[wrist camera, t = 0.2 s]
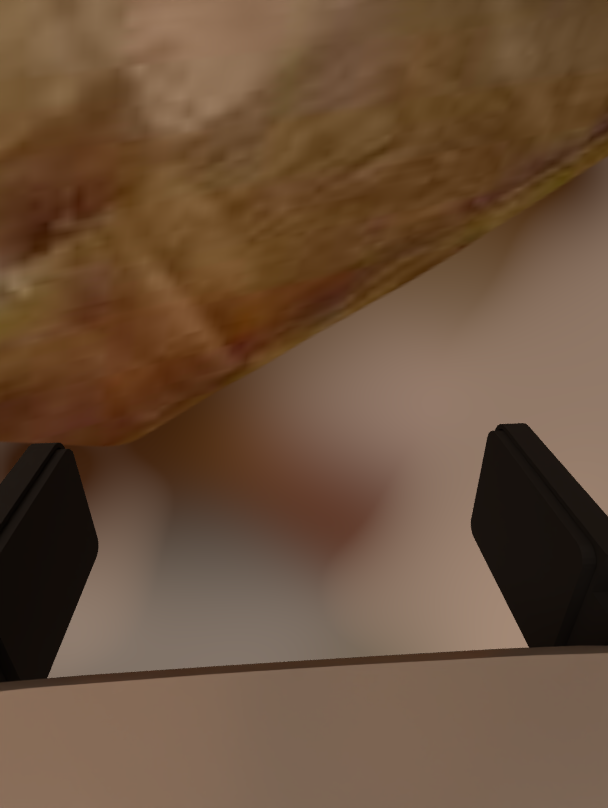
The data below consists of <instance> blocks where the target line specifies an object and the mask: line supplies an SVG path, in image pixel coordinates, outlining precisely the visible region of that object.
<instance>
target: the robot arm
mask: <svg viewBox="0 0 608 808" xmlns="http://www.w3.org/2000/svg"><path fill="white" fill-rule="evenodd" d="M471 530H472V534H473V536H474V538H475V541H476V542H477V545H478V547H479V548H480V551H481V553H482V555H483V557H484V559H485V561H486V562H487V564H488V567H489V569H490V570H491V572H492V574H493V576H494V578H495V580H496V582H497V584H498V586H499V588H500V590H501V592H502V594H503V596H504V598H505V600H506V602H507V604H508V606H509V608H510V610H511V612H512V614H513V616H514V618H515V620H516V622H517V624H518V626H519V628H520V630H521V632H522V634H523V636H524V638H525V640H526V642H527V644H528V646H529V648H510V649H489V650H472V651H455V652H438V653H420V654H404V655H403V654H402V655H385V656H369V657H353V658H336V659H321V660H304V661H288V662H273V663H258V664H242V665H226V666H211V667H197V668H183V669H168V670H153V671H139V672H125V673H110V674H95V675H81V676H70V677H59V678H47V677H48V674H49V672H50V670H51V667H52V664H53V662H54V660H55V657H56V655H57V652H58V650H59V647H60V645H61V643H62V640H63V638H64V635H65V633H66V630H67V628H68V625H69V623H70V620H71V618H72V615H73V613H74V611H75V608H76V606H77V603H78V601H79V598H80V596H81V594H82V591H83V589H84V586H85V584H86V581H87V579H88V576H89V574H90V571H91V569H92V567H93V564H94V562H95V559H96V557H97V552H98V538H97V535H96V531H95V528H94V524H93V521H92V517H91V514H90V510H89V507H88V503H87V500H86V496H85V493H84V489H83V486H82V482H81V479H80V475H79V472H78V468H77V465H76V461H75V458H74V454H73V452H72V451H71V450H70V449H65V448H64V446H63V445H62V444H61V443H40V444H31V445H30V446H29V447H28V448H27V450H26V451H25V452H24V454H23V455H22V457H21V458H20V459H19V460H18V462H17V463H16V464H15V466H14V467H13V468H12V469H11V471H10V472H9V473H8V475H7V476H6V477H5V479H4V480H3V481H2V483H1V484H0V808H608V516H607V515H606V514H605V513H604V512H603V511H602V510H601V508H600V507H599V506H598V505H597V504H596V503H595V501H594V500H593V499H592V498H591V497H590V496H589V495H588V493H587V492H586V491H585V490H584V489H583V488H582V487H581V485H580V484H579V483H578V482H577V481H576V480H575V479H574V477H573V476H572V475H571V474H570V473H569V472H568V471H567V469H566V468H565V467H564V466H563V465H562V464H561V463H560V461H558V459H557V458H556V457H555V456H554V455H553V453H552V452H551V451H550V450H549V449H548V448H547V447H546V445H544V443H543V442H542V441H541V440H540V439H539V437H538V436H537V435H536V434H535V433H534V432H533V431H532V430H531V428H530V427H529V426H528V425H527V424H524V423H518V424H500V425H498V426H497V428H496V429H495V431H491V432H490V433H489V434H488V437H487V442H486V447H485V453H484V457H483V462H482V468H481V473H480V478H479V483H478V488H477V493H476V498H475V503H474V508H473V513H472V518H471Z"/></svg>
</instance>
